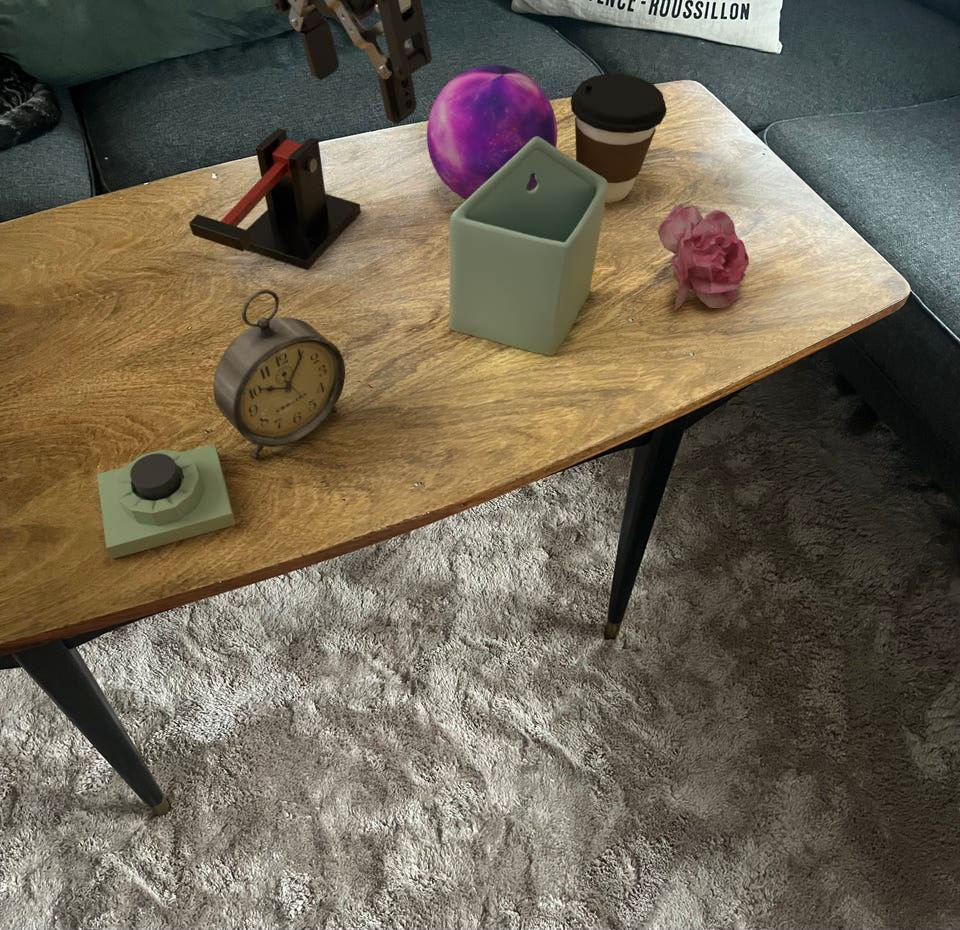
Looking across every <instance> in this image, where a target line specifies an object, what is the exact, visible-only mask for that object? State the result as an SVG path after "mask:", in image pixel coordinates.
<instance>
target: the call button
mask: <svg viewBox="0 0 960 930" xmlns="http://www.w3.org/2000/svg"><path fill="white" fill-rule="evenodd" d="M130 477H131V480H132V482H133V484H134V486H135V488H136V490H137V492H138V494H139V495H140V496H141V497H142V498H144V499H147V500H153V501H154V500H161V499H165V498H167V497H169V496H171V495H172V494H173V493H175V492H176V491H177V489H178V488H179V486H180V484H181V476H180V473H179V471H178V468H177V466H176V463H175V461H174V460H173V459H172V458H171V457H170V456H168V455H165V454H160V453H156V454H150V455H147V456H144V457H142V458H141V459H139V460H138V461H137V462H136V463H135V464H134V465H133V467H132V469H131V472H130Z"/></svg>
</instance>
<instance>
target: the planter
mask: <svg viewBox="0 0 960 930" xmlns="http://www.w3.org/2000/svg"><path fill="white" fill-rule="evenodd" d="M532 173H535V179H536V181H537V186H536V187H535V188H534V189H533V190H531V191H527V190H526V186H527V184H528V183H529V181H530V176H531V174H532ZM607 187H608V183H607V181H606V179H605V178H603V177H602V176H600V175H598V174H596V173H595V172H593V171H592V170H590V169H588V168H587V167H585V166H584V165H582V164H581V163H579V162H577V161H576V159H574V158H572V157H571V156H569V155H568V154H566V153H564V152H562V151H561V150H559V148H557V147H556V148H555V147H553V146H552V145H551V144H549V143H548V142H546V141H545V140H543V139H542V138H540V137H537V136H536V137H534V138H532V139H531V140H530V141H529V142H528V143H527V144H526V145H525V146H524V147H523V148H522V149H521V150H520V151H519V152H518V153H517V154H516V155H515V156H514V157H512V158H511V159H510V160H509V161H508V162H507V163H506V164H505V165H504V166H503V167H502V168H501V169H500V170H498V171H497V172H496V173H495V174H494V175H493V176H492V177H491V178H490V179H489V180H487V181H486V182H485V183H484V184H483V185H482V186H481V187H480V188H479V189H478V190H477V191H475V192H474V193H473V194H472V195H471V196H470V197H469V198H468V199H465V200H464V202H463V203H461V204H460V205H459V206H458V207H457V208H456V209H455V210H454V211H453V212H452V213H451V215H450V218H449V276H448V277H449V285H448V287H449V288H448V289H449V290H448V291H449V293H448V295H449V299H448V300H449V307H448V309H449V310H448V311H449V312H448V313H449V314H448V315H449V316H448V317H449V318H448V327H449V329H450V330H452V331H454V332H457V333H460V334H465V335H469V336H472V337H477V338H479V339H483V340H487V341H491V342H494V343H498V344H501V345H505V346H509V347H511V348H516V349H520V350H523V351H527V352H532V353H535V354H540V355H545V356H548V357H551V356H554V355H555V354H556V352H557V351H558V349H559V348H560V346H561V345H562V344H563V342H564V341H565V340H566V338H567V336H568V334H569V332H570V330H571V329H572V326H573V325H574V323H575V321H576V319H577V317H578V316H579V313H580V312H581V310H582V308H583V306H584V304H585V303H586V301H587V299H588V298H589V295H590V293H591V292H590V291H591V287H592V282H593V281H592V280H593V276H594V275H593V274H594V269H595V263H596V259H597V258H596V257H597V253H598V246H599V240H600V234H601V229H602V222H603V217H604V210H605V206H606V202H605V200H606V194H607Z"/></svg>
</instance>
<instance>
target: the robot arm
mask: <svg viewBox="0 0 960 930" xmlns="http://www.w3.org/2000/svg"><path fill="white" fill-rule="evenodd" d="M270 3H271V6H272V8H273V9H274V11H275V12H276V13H277V14H278V15H282V14H284V13H286V14H287V15H288V20H289V23H290V25H291V27H292V28H293V29H294V30H295V31H296V32H298V33H299V37H300V39H301V43H302V47H303V50H304V53H305V57H306V60H307V63H308V67H309V71H310V74H311V76H312V77H314V78H315V79H318V80H320V81H322V80H324V79H326V78H328V77H329V76H331V75H332V74H334V73H336V72H337V71H338V69H339V67H340V60H339V57H338V52H337V49H336V45H335V42H334V38H333V34H332V29H331V26H330V22H329V20H328V19H325V18H324V17H327V18H333V19H334V20H335V21H336V22H337V23H338V24H339V25H340V26H343V28H344V30H345V31H346V33H347V35H348V36H349V38H350V40H351V41H352V43H353V44H354V46H355V47H356V48H357V49H360V50H361V49H362V50H364V51H365V53H366V54H367V55H368V57H369V59H370V61H371V62H372V64H373V66H374V67H375V69H376V71H377V72H378V74H377V80H378V84H379V88H380V93H381V99H382V103H383V108H384V110H385V111H384V112H385V116H386V119H387V120H388V121H390V122H391V123H393V124H396V125H399V124H400V123H401V122H403V121H404V120H405V119H407V118H409V117H410V116H412V114H413V113H414V112H415V111H416V109H417V103H418V102H417V99H416V93H415V88H414V87H415V86H414V81H413V74H414V73H415V72H418V70H420V69H422V68H423V67H425V66H427V65H429V64H430V63H431V62H432V59H433V57H432V51H431V46H430V41H429V36H428V31H427V27H426V21H425V16H424V11H423V6H422V1H421V0H270ZM374 11H375V13H377V14H379V17H380V19H379V20H378V21H377V22H375V23H374V24H372V25H371V26H369V27H366V26H363V25H362V24H361V22H363V21H364V20H365V19H367V18H369V17H370V16H371V15H372V14H373V12H374ZM381 36H384V38H385V42H386V47H387V50H388V54H386V53H385V51H384V50H383V48H382V46H381V44H380V43H379V37H381ZM409 39H410V40H411V45H412V47H411V45H410V44H409V41H408V40H409Z"/></svg>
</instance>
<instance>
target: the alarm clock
mask: <svg viewBox="0 0 960 930" xmlns="http://www.w3.org/2000/svg"><path fill="white" fill-rule="evenodd" d="M265 294H267V295H271V296H272V297H273V299H274V307H273V308H274V309H273V310H272V313H271V314H270V315H269V316H268V317H265V316H263V317H260V318H258V319H257V323H253V322H250V321H249V320H248V319H247V311H248V307H249V306H250V304H251V302H252V301H254V299H256V298H257V297H259V296H261V295H265ZM279 305H280V299H279V296H278V294H277V293H276V292H275V291H273V290H271V289H265V288H263V289H261V290H258V291H256V292H254V293H253V294H251V295H250V296H249V297H248V298H247V300H246V301H245V302H244V304H243V307H242V310H241V318H242V320H243V322H244V323H245V324H246V325H247V326H250V327H248V328H246V329H245V330H244V331H243V332H241V333H240V334H239V335H238V336H237V337H235V338H234V340H233V341H232V342H231V343H230V344H229V345H228V347H226V349H225V350H224V352H223V354H222V355H221V357H220V359H219V361H218V363H217V366H216V369H215V371H214V372H215V373H214V377H213V382H212V383H213V385H212V387H213V388H212V390H213V397H214V401H215V404H216V406H217V408H218V410H219V412H220V413H221V414H222V416H223V417H224V418H225V419H226V420H227V421H228V422H229V423H230V424H231V425H232V426H233V427H234V429H236V430H237V432H238V433H239V434H240V435H241V437H242V438H244V439H245V440H246V441H248V442H249V443H251V444H254V445H255V449H254V452H253V453H252V458H253V459H254V460H259V459H260V456H261V455H260V453H261V452H262V451H263V449H264V447H267V448H273V447H282V446H284V445H290V444H292V443H294V442H296V441H298V440H301V439H302V438H304V437H306V436H308V435H309V434H310V433H312V432H314V431H315V430H316V429H317V428H318V427H319V426H320V425H321V424H322V423H323V422H324V421H325V420H326V419H327V418H328V417H329V415H330V414H331V413H332V414H333V415H335V414H337V413H338V408H337V406H336V405H337V403H338V401H339V399H340V397H341V394H342V391H343V389H344V386H345V379H346V365H345V360H344V358H343V355H342V353H341V351H340V349H339V348H338V347H337V346H336V345H335V344H334V342H331V341H329V340H328V339H327V338H326V337H325V335H323V334H321V333H320V332H319V331H318V330H317V329H316V328H314V327H313V326H312V325H311V324H309V323H307V322H306V321H304V320H302V319H298V318H296V317H295V318H294V317H287V316H282V317H281V316H280V317H275V315H277V313H278V310H279V307H280V306H279Z"/></svg>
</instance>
